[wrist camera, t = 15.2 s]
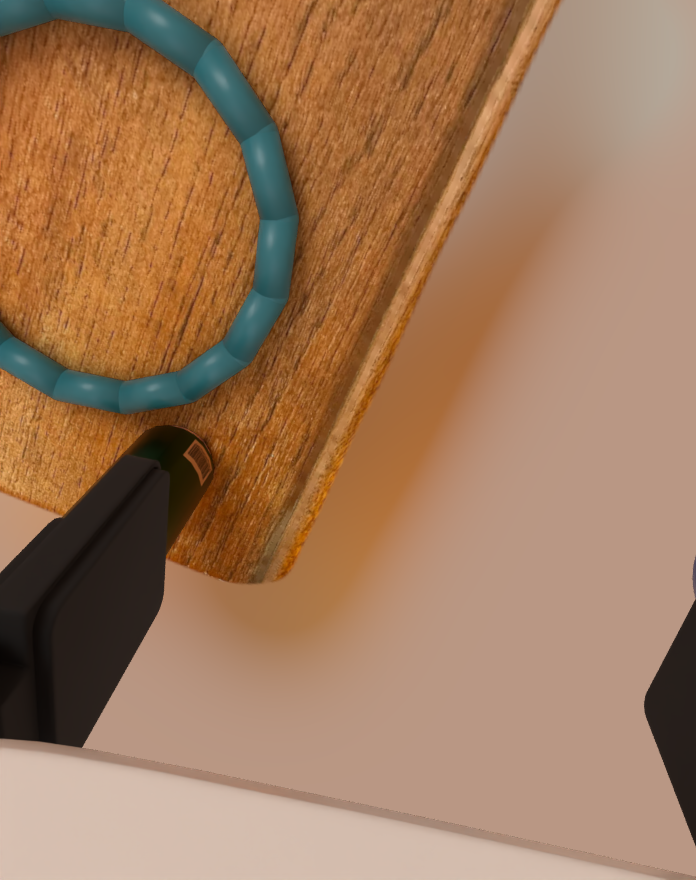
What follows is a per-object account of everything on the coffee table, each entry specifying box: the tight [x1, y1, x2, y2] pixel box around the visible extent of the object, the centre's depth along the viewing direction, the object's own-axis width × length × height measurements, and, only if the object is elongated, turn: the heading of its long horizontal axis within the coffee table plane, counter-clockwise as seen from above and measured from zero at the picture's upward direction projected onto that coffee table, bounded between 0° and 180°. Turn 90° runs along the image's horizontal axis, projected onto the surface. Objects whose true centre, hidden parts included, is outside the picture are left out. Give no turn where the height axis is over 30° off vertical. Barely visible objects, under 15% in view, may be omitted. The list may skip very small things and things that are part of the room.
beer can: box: [62, 425, 214, 555], centre depth 36 cm, size 5×5×12 cm
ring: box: [0, 0, 299, 414], centre depth 34 cm, size 22×22×2 cm
